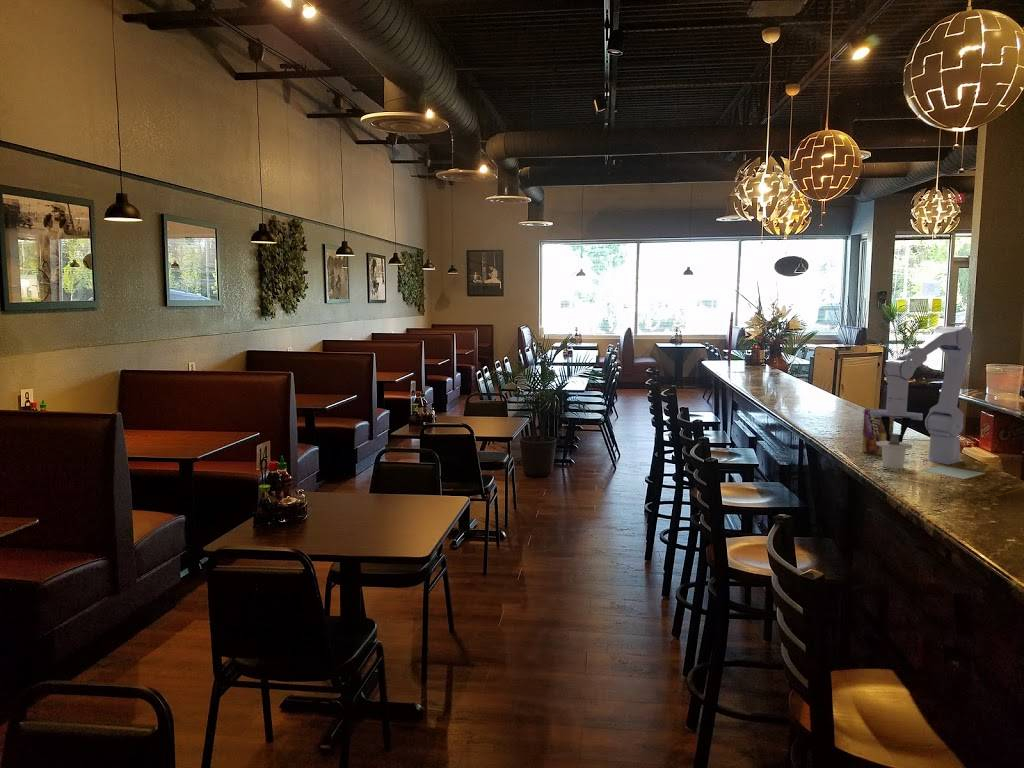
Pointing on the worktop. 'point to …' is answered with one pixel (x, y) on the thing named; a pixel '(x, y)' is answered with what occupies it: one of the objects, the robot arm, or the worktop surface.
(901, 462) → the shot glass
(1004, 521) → the worktop surface
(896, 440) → the lid
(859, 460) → the worktop surface
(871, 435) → the candy box
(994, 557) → the worktop surface
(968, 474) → the mat
